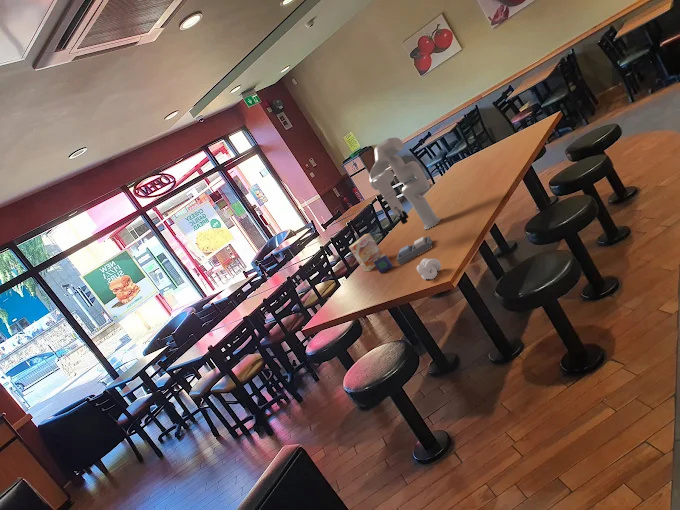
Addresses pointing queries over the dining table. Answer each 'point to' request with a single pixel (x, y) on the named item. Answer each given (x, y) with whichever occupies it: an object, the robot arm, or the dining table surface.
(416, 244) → the white key
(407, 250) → the blue key
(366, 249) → the coffeecake box
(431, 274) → the white rounded lump
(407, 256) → the key panel
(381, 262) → the dark blue boxy piece
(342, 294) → the dining table surface
